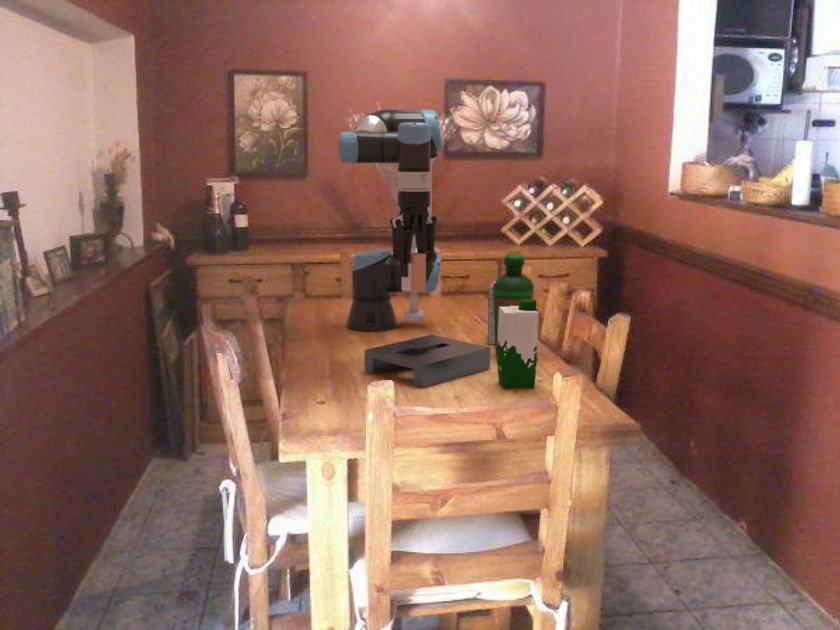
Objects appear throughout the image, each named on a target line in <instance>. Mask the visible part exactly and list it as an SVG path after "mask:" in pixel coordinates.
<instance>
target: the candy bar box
mask: <svg viewBox="0 0 840 630" xmlns="http://www.w3.org/2000/svg"><path fill="white" fill-rule="evenodd" d="M495 282H496V280H492V282H491V283H490V284H489V287H488V288H487V289H488V294H487V295H488V296H487V344H488V345H490V346H491V345H492V346H495V324H494V295H493V285H494V283H495Z"/></svg>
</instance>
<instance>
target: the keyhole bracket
mask: <svg viewBox="0 0 840 630" xmlns="http://www.w3.org/2000/svg"><path fill="white" fill-rule="evenodd" d="M401 367H404V368H409V369H412V370H413V386H414V387H416V388H420V389H424V388H429V387H432V386H435V385H439V384H442V383H446V382H449V381H453V380H457V379H460V378H462V377H466V376H471V375H474V374H476V373H480V372H483V371H487V370H490V369H491V346H486V345H480V344H476V343H473V342H472V343H471V342H468V341H463V340H458V339H455V338H454V339H453V338H451V337H450V338H449V337H445V336H442V335H441V336H440V335H435V334H429V335H425V336H421V337H420V336H419V337H416V338H415V337H414V338H411V339H406V340H402V341H398V342H394V343H389V344H385V345H380V346H376V347H371V348H368V349H364V372H365V373H367V374H368V373H369V374H371V375H374V374H378V373H381V372H386V371H389V370H394V369H398V368H401Z"/></svg>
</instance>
